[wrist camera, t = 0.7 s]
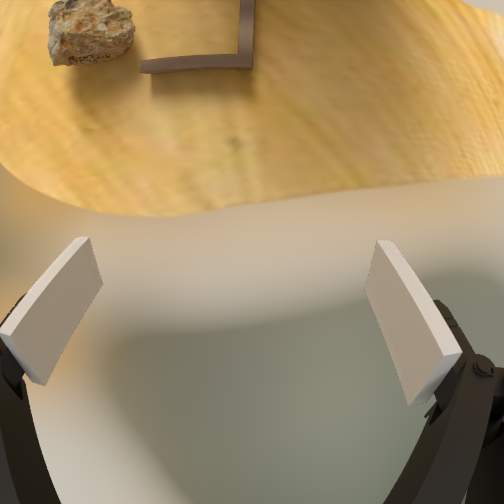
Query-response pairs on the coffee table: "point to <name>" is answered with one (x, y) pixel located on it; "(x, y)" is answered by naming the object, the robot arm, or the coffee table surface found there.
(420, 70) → the coffee table surface
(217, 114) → the coffee table surface
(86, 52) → the rock
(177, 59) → the brown l-shaped block
